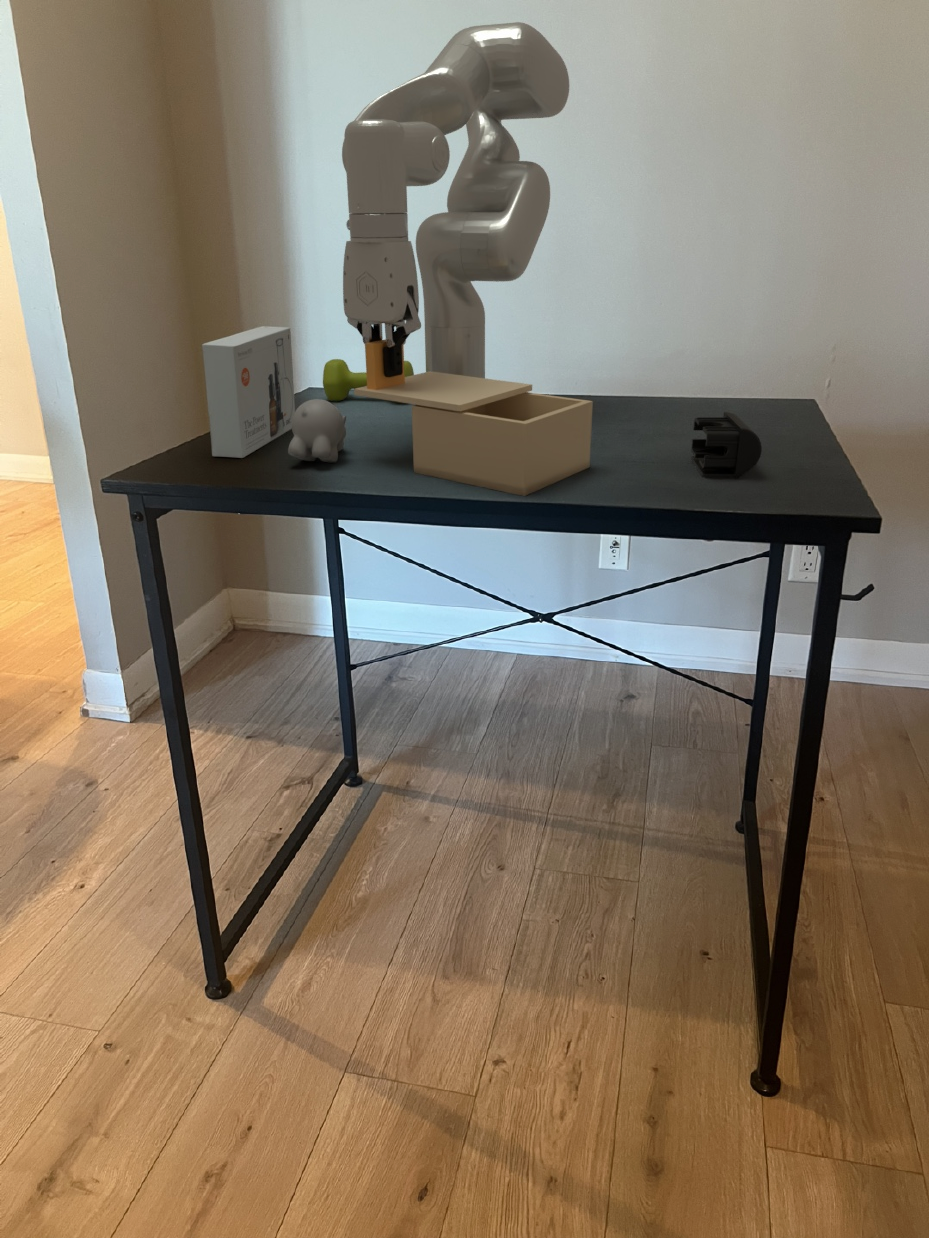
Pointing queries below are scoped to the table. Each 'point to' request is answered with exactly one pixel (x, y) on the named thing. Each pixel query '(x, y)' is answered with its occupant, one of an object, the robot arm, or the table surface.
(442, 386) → the flap
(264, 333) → the skincare box
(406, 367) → the dumbbell
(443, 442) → the carton
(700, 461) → the end cap
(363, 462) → the table surface
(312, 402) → the white animal toy
